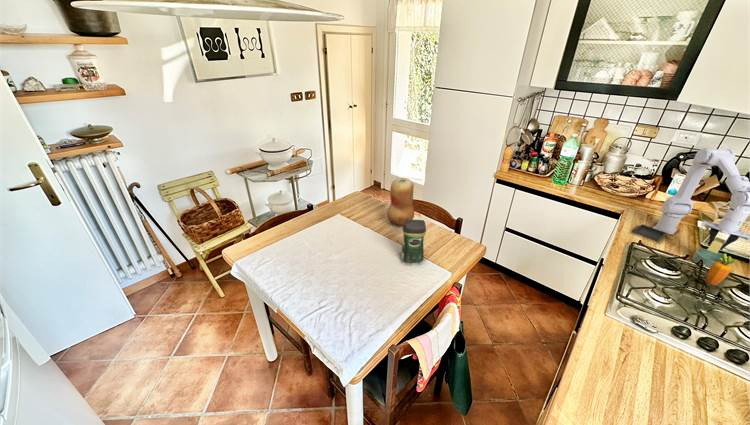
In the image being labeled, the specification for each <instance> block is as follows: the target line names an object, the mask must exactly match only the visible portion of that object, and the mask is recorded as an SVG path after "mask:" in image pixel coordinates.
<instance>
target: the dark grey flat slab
mask: <svg viewBox="0 0 750 425" xmlns="http://www.w3.org/2000/svg"><path fill="white" fill-rule="evenodd" d="M632 233H633V234H635V235H638V236H641V237H643V238H646V239H649V240H651V241H654V242H656V243H659V242H660V241H661V240H662V239H663V238H664V237H665V236H666V235H667V233H666V232H663V231H660V230H657V229H654V228H653V227H651V226H648V225H646V224H643V223H641V224H640V225H639V226H638V227H636V228H635V229H634V230H633V231H632Z"/></svg>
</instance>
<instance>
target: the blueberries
mask: <svg viewBox="0 0 750 425" xmlns="http://www.w3.org/2000/svg"><path fill="white" fill-rule="evenodd" d="M632 317H633V320H634V321H636V322H638V323H641V322H640V321H638V320H637V319H639V320H641V321H642V322H643V323H645V322H644V321H646V323H647V324H650V323H652V321H651V320H649V319H648V318H645V317H644V316H642V315H638V314H637V315H633V316H632ZM647 321H649V322H647ZM646 323H645V324H646ZM652 324H653V326H652V327H654V326H656V327H654V328H658V329H660V326H659V325H657V324H655V323H652Z"/></svg>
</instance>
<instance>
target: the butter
mask: <svg viewBox="0 0 750 425" xmlns="http://www.w3.org/2000/svg"><path fill="white" fill-rule="evenodd" d="M726 240H727V239H724V238H720V237H718V236H716V237H715V239H714V240H713V242H712V243H711V245H710V246H708V248H706V249H707V250H709V251H711V252H714V253H717V252H719V251H721V250H720V248H721V247H722V245H723V244H724V243H725V242H726Z"/></svg>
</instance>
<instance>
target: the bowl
mask: <svg viewBox="0 0 750 425" xmlns="http://www.w3.org/2000/svg"><path fill="white" fill-rule="evenodd" d="M707 249H708V248H698V249H696V250H695V252H694V253H693V255H692V256H691V261H693V263H695V264H696V263H697V262H699V260H701V259H702V260H703V264H704V265H705V266H708V267H711V266H712V264H713V263H714V262H718V261H721V260H720V258H722V259H723V254H724V253H721V252H719V251H718V252H717V253H714V252H711V251H709V250H707ZM727 260H728V256H727ZM732 260H733V259H731V261H732ZM729 265H730V266H731V267H732V265H733V263H731V264H729Z"/></svg>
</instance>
